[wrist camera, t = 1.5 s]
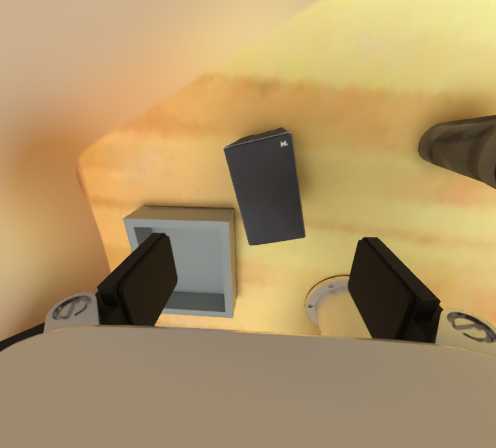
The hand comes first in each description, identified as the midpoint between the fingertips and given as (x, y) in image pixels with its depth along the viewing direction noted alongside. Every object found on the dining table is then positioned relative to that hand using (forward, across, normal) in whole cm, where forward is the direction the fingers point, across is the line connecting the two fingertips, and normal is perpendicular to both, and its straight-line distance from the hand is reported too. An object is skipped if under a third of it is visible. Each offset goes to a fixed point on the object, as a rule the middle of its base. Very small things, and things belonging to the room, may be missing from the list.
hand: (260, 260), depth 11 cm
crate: (+21, +12, +14) cm, 28 cm away
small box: (+21, 0, 0) cm, 21 cm away
